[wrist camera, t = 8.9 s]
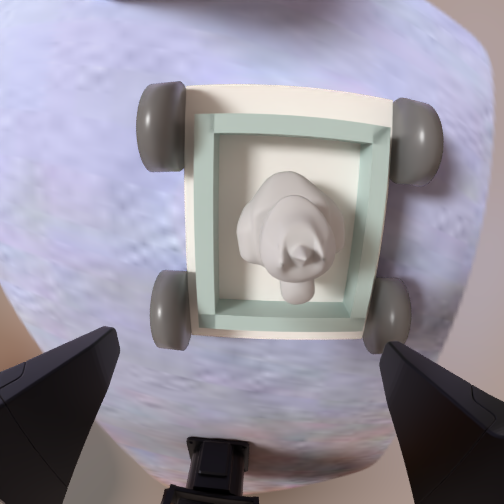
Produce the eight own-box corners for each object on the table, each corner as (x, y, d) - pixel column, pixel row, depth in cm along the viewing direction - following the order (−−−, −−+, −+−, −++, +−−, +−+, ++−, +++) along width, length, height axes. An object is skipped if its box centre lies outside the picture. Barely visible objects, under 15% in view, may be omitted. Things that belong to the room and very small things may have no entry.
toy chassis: (374, 326, 21) (396, 367, 16) (176, 321, 21) (157, 363, 17) (403, 107, 16) (443, 98, 11) (169, 92, 16) (138, 75, 11)
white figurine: (328, 164, 16) (383, 178, 8) (336, 272, 18) (378, 350, 11) (233, 175, 16) (208, 197, 9) (249, 282, 19) (241, 369, 11)
